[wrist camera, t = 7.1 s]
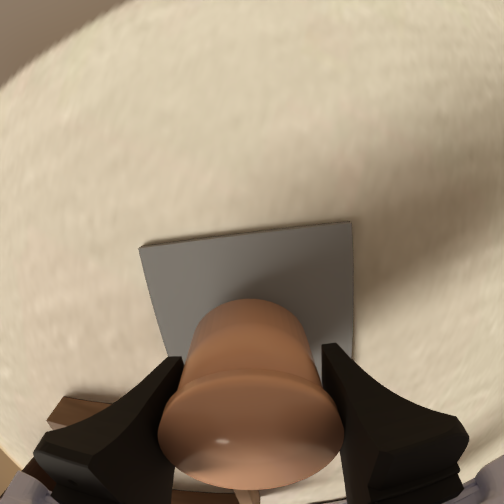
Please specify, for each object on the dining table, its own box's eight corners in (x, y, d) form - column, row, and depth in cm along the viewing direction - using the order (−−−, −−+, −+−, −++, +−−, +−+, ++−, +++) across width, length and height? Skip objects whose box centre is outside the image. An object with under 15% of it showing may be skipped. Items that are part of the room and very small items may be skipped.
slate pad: (347, 385, 16) (349, 389, 16) (186, 398, 17) (185, 403, 17) (349, 221, 13) (351, 223, 13) (141, 246, 14) (138, 248, 14)
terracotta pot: (308, 391, 15) (330, 482, 9) (196, 395, 15) (178, 487, 9) (315, 289, 13) (359, 376, 7) (178, 295, 13) (135, 384, 7)
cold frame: (260, 497, 21) (258, 556, 14) (128, 486, 22) (111, 534, 15) (235, 408, 17) (225, 502, 10) (63, 396, 18) (22, 455, 11)
